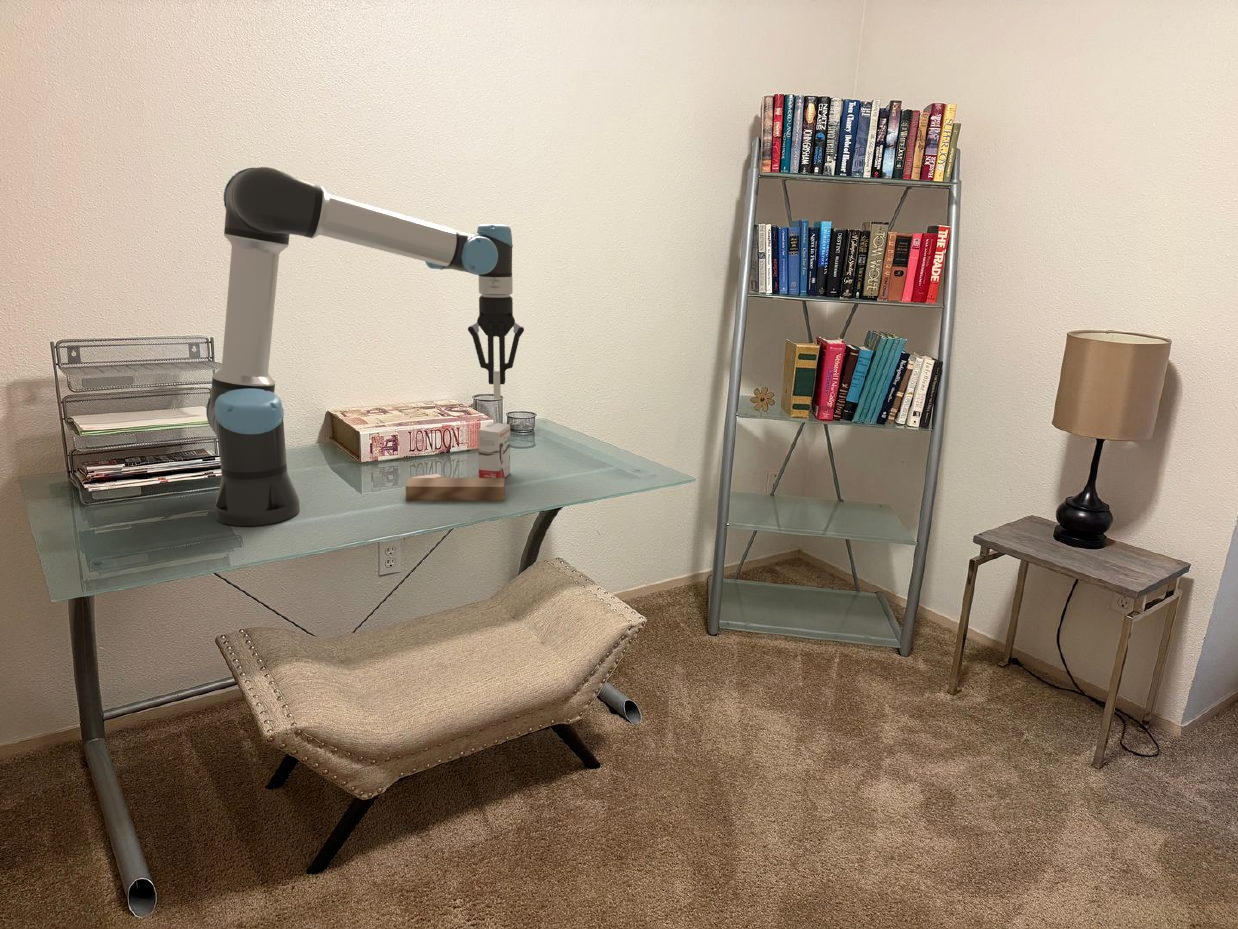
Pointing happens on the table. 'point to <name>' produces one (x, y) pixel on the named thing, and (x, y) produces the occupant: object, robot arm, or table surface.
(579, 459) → the table surface
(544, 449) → the table surface
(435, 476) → the eraser
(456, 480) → the wooden block
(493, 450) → the ink box
